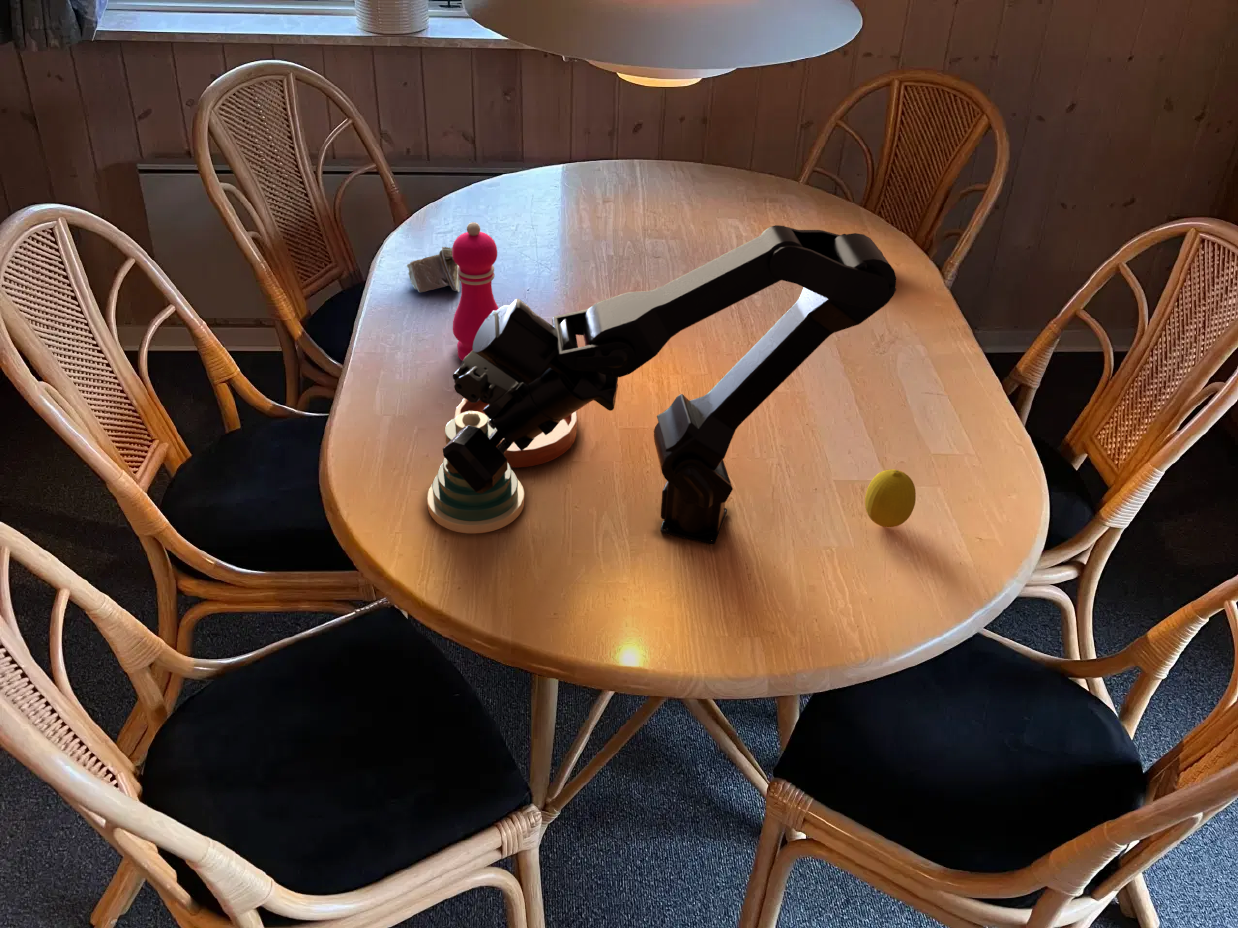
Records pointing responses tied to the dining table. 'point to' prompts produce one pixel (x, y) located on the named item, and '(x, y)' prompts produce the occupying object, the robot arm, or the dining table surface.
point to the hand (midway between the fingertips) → (462, 453)
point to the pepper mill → (473, 284)
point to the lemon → (890, 498)
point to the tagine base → (541, 446)
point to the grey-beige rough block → (434, 272)
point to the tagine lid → (460, 503)
